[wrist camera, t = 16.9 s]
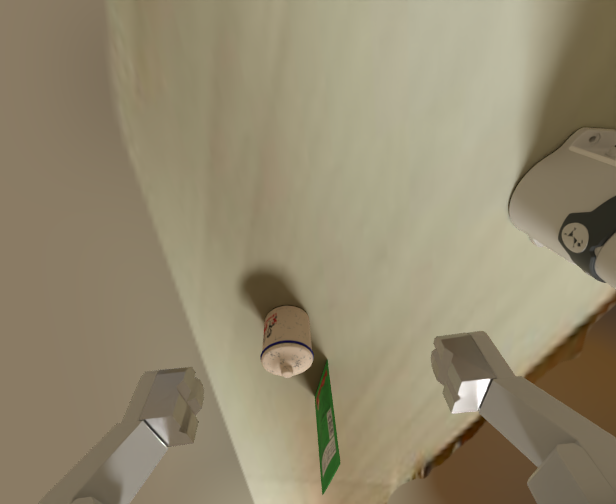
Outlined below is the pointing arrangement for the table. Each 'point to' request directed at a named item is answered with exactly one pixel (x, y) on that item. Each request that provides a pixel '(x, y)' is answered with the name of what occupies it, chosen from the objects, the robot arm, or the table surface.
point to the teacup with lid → (287, 342)
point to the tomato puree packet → (326, 430)
